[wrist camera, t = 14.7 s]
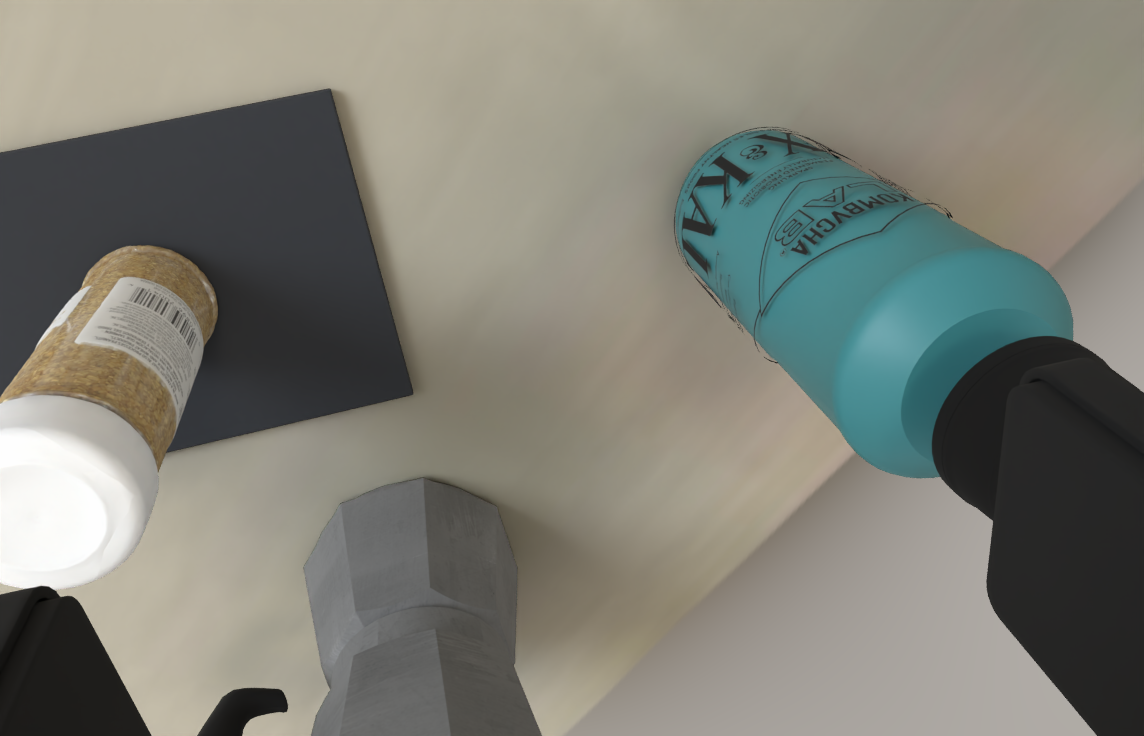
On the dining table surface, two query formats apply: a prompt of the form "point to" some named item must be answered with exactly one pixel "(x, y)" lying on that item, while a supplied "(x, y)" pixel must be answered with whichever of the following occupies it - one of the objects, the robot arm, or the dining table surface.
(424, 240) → the dining table surface
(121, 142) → the mat
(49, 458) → the sprinkles bottle
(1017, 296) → the beverage bottle
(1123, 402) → the robot arm
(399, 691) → the coffeepot
